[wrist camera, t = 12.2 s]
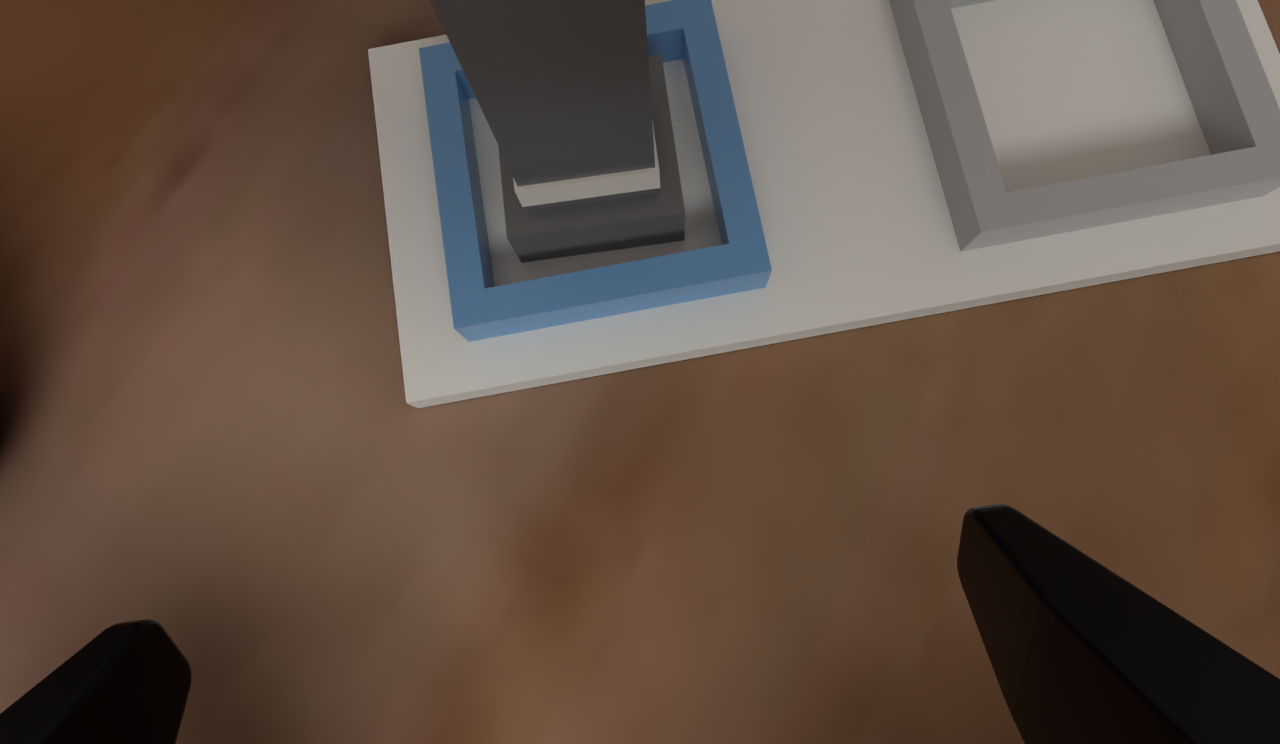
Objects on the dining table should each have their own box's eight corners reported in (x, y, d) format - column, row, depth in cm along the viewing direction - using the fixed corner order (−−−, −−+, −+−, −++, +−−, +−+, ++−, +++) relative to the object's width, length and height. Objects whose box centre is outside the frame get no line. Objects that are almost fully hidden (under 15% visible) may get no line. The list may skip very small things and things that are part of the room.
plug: (684, 240, 22) (693, -140, 10) (521, 262, 22) (316, -84, 10) (662, 93, 23) (645, -426, 11) (507, 115, 23) (305, -371, 11)
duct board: (1191, -85, 25) (1247, -152, 22) (1322, 243, 22) (1401, 208, 20) (380, 67, 25) (347, 18, 23) (418, 408, 23) (386, 394, 20)
